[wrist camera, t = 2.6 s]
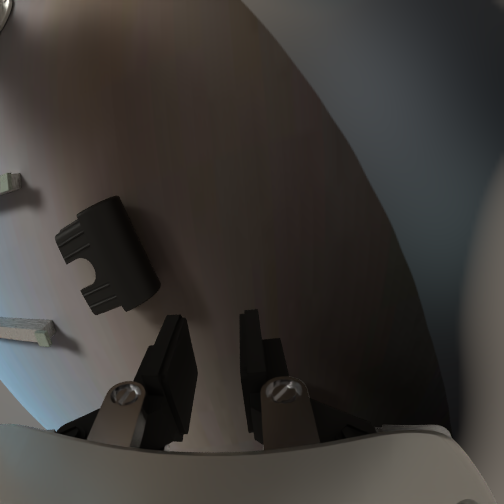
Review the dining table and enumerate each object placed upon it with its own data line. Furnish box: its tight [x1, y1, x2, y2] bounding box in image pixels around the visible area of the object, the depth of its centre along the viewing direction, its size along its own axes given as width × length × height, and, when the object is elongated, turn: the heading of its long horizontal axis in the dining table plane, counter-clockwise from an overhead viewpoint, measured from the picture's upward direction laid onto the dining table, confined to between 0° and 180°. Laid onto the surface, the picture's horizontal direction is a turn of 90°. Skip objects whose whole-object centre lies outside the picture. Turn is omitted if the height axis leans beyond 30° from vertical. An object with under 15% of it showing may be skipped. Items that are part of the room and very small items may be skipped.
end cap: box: [55, 196, 161, 315], centre depth 26 cm, size 10×7×7 cm
